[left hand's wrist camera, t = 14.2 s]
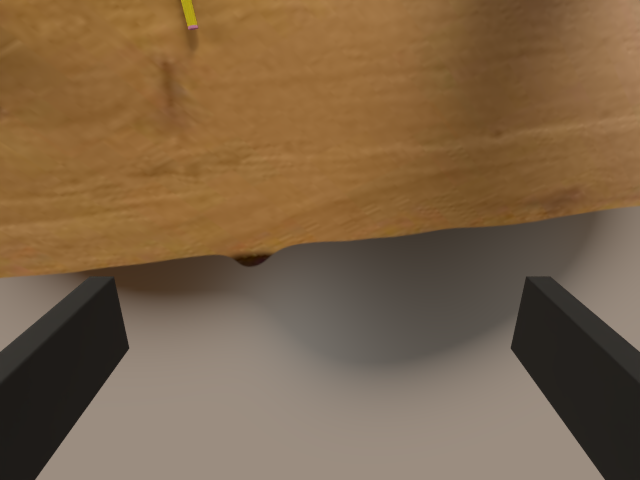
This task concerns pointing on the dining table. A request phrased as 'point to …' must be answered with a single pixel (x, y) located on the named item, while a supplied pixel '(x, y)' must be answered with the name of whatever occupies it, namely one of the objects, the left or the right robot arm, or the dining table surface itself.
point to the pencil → (189, 14)
